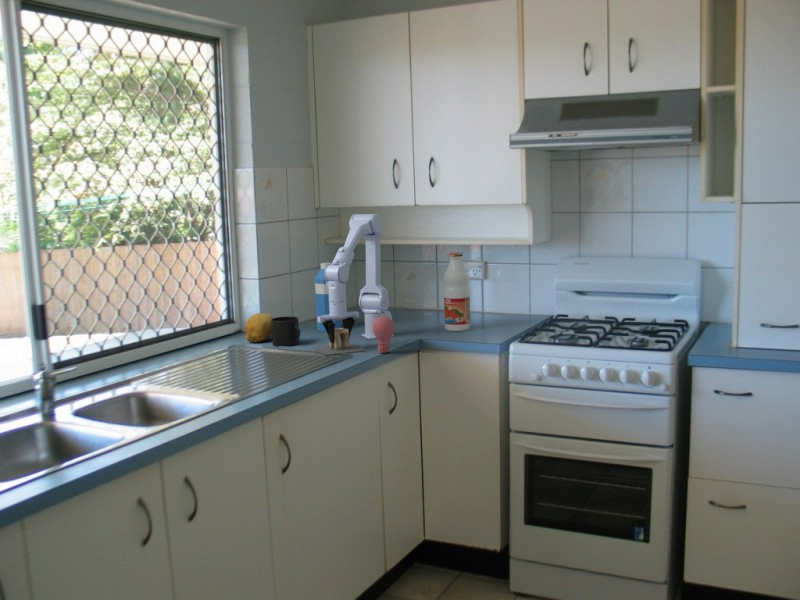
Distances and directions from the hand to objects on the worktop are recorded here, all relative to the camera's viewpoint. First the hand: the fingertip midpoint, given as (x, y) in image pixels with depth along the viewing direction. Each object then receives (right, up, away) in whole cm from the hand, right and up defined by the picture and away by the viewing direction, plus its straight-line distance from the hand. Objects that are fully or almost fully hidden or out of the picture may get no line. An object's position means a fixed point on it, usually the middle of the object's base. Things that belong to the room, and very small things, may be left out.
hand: (339, 341), depth 284 cm
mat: (0, -3, 0) cm, 3 cm away
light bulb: (+15, -4, -8) cm, 17 cm away
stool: (0, -2, 0) cm, 2 cm away
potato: (-29, -1, +21) cm, 36 cm away
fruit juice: (+41, +3, +29) cm, 51 cm away
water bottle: (-7, +3, +39) cm, 40 cm away
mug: (-19, -2, +12) cm, 22 cm away
